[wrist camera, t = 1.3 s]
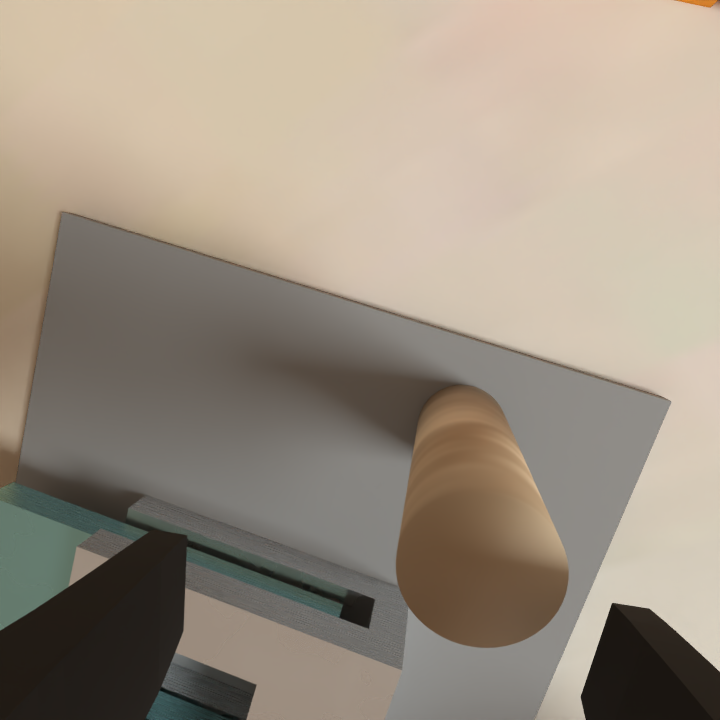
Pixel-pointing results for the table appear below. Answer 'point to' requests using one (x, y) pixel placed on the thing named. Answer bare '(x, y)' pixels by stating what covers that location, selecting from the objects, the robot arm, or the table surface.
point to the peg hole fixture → (225, 610)
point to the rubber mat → (310, 432)
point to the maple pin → (476, 528)
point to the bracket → (700, 2)
